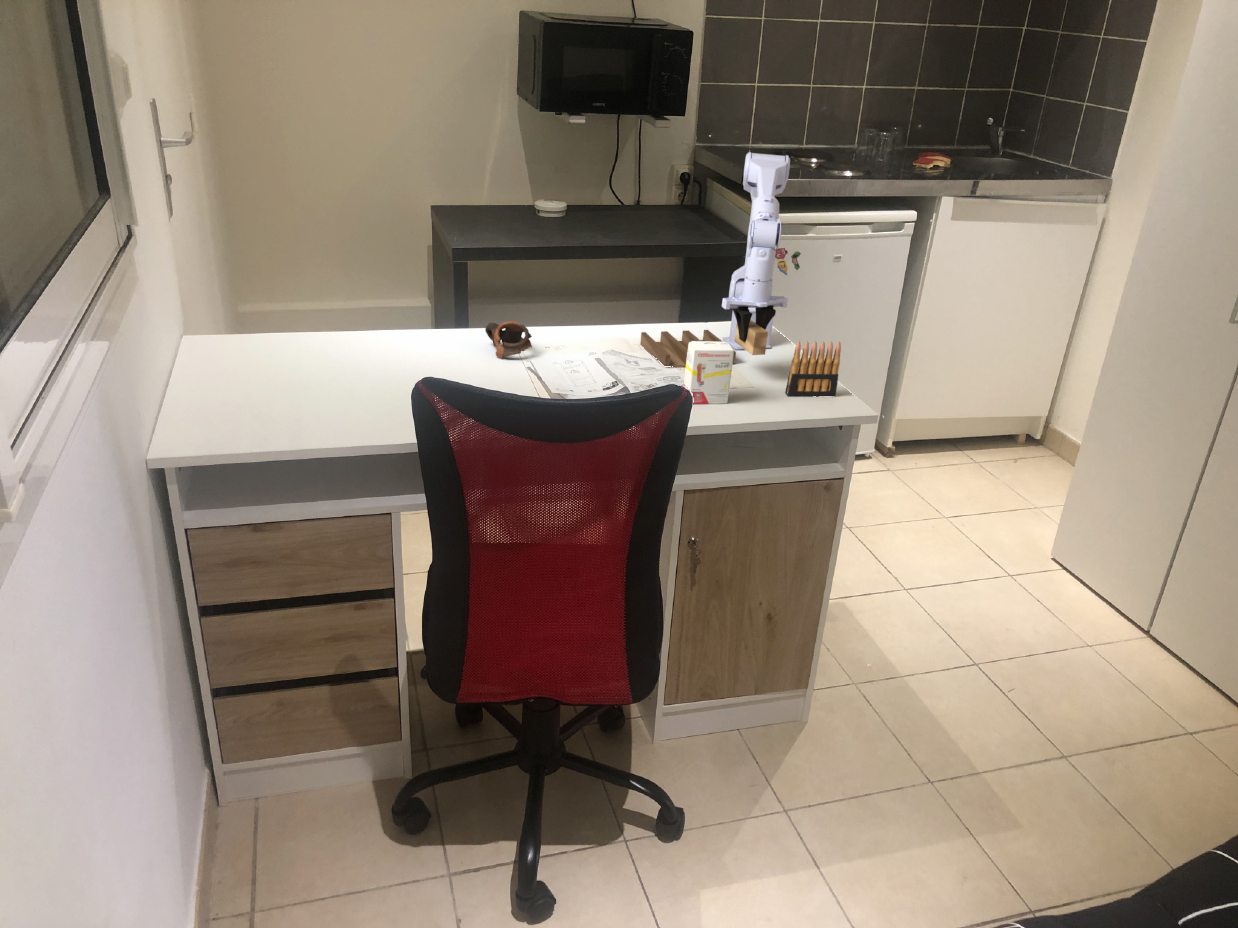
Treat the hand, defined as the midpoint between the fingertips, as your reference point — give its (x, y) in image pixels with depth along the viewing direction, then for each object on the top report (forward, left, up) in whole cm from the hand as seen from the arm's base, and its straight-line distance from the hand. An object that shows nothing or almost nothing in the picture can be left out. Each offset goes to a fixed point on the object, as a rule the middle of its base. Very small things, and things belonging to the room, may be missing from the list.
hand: (749, 339), depth 205 cm
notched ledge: (+8, -15, -8) cm, 19 cm away
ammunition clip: (-9, +13, -9) cm, 18 cm away
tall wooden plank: (0, 0, -2) cm, 2 cm away
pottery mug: (+48, -22, -9) cm, 54 cm away
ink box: (+15, +12, -9) cm, 21 cm away
